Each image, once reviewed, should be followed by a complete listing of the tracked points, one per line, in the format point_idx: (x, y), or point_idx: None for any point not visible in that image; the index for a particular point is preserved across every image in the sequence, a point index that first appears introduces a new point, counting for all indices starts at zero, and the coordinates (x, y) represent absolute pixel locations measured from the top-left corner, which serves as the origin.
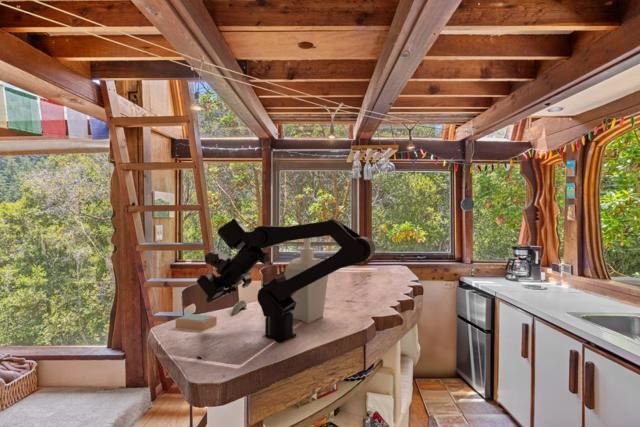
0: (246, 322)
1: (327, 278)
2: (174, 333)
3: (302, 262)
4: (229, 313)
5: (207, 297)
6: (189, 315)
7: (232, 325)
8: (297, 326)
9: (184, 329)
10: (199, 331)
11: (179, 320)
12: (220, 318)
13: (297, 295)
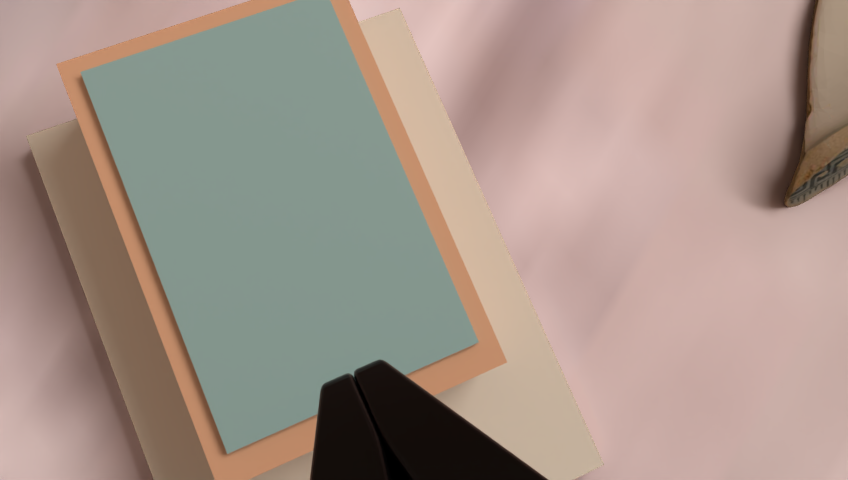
0: (811, 470)
1: None
2: (7, 238)
3: None
4: (830, 68)
5: (316, 459)
6: (271, 59)
7: (633, 455)
8: None
9: (108, 265)
10: (179, 477)
11: (83, 124)
12: (683, 106)
13: None
